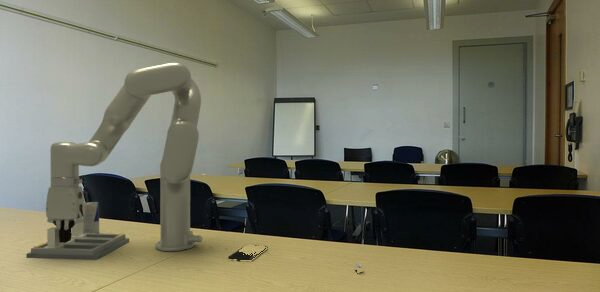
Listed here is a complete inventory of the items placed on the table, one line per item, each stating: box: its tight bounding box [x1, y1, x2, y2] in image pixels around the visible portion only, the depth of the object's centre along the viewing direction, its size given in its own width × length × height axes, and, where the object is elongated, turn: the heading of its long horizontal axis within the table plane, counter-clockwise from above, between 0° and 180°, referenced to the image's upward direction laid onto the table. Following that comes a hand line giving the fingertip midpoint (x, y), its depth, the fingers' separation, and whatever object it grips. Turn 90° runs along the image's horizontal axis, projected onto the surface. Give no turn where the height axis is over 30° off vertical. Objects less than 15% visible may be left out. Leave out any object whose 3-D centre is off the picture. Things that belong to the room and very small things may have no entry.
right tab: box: [71, 219, 87, 237], centre depth 138 cm, size 4×3×7 cm
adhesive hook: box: [354, 261, 363, 268], centre depth 112 cm, size 3×3×3 cm
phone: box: [227, 244, 269, 261], centre depth 128 cm, size 8×1×15 cm
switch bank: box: [25, 232, 130, 261], centre depth 131 cm, size 22×20×3 cm
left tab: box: [44, 226, 64, 248], centre depth 125 cm, size 4×3×7 cm
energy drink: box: [82, 201, 100, 234], centre depth 148 cm, size 5×5×12 cm
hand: (65, 241), depth 124 cm, fingers closed
